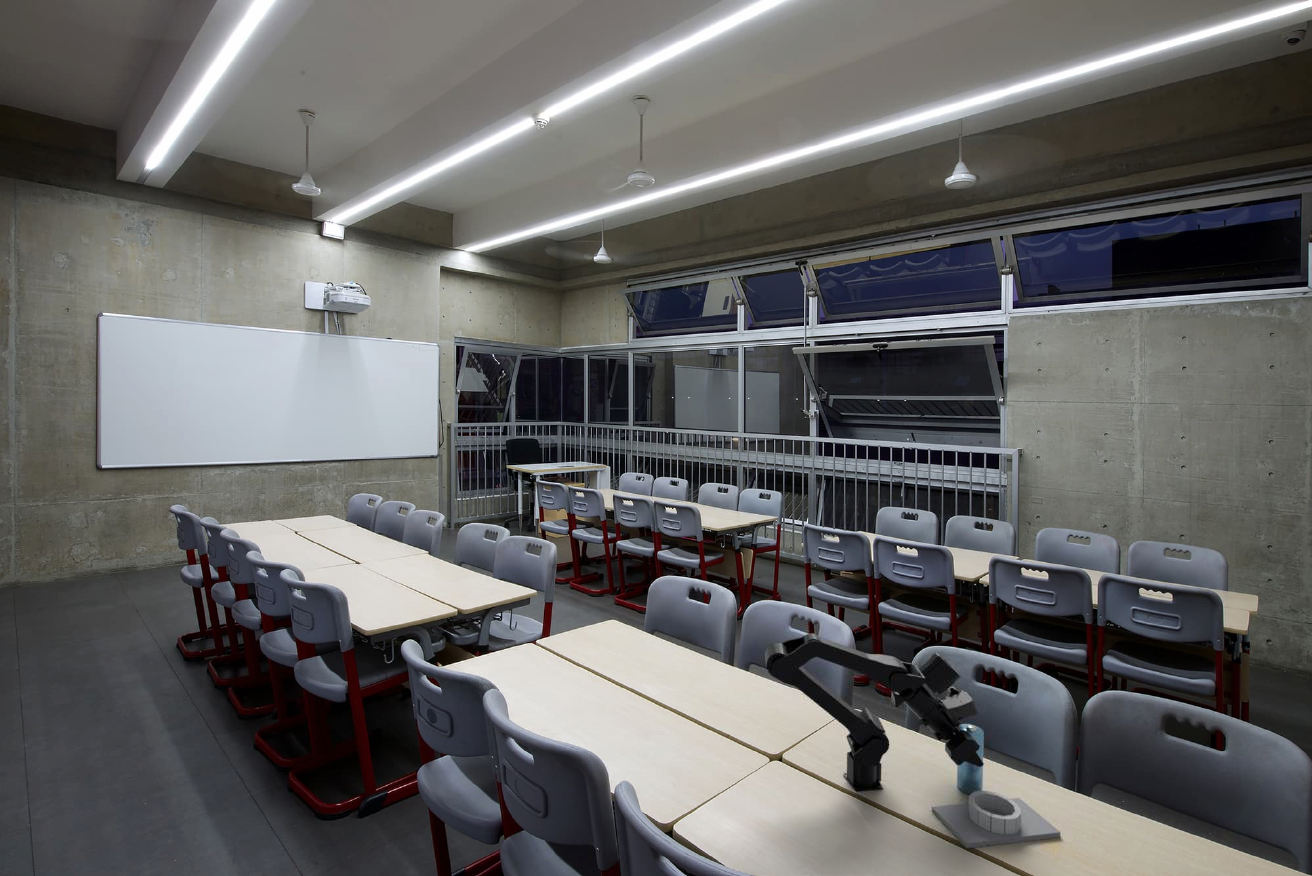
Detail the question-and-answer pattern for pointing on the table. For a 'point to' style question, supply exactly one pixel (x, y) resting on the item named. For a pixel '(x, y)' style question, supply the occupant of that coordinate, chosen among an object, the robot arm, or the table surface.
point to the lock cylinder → (969, 773)
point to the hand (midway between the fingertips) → (976, 758)
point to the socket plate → (989, 838)
